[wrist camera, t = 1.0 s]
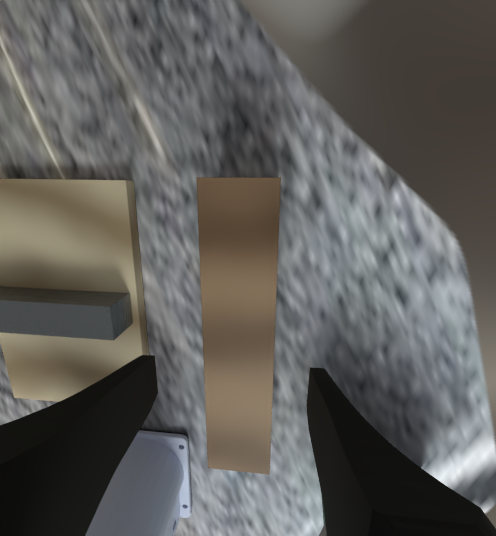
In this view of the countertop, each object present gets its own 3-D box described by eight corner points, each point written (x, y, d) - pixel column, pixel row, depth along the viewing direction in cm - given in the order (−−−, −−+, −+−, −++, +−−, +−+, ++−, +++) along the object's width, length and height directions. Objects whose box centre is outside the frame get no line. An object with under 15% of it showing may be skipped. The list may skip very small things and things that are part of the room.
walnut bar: (271, 408, 23) (269, 474, 17) (223, 405, 23) (208, 468, 18) (279, 182, 18) (280, 177, 13) (219, 182, 18) (196, 177, 13)
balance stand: (153, 401, 23) (132, 436, 20) (24, 389, 24) (-16, 420, 21) (133, 181, 18) (101, 177, 15) (-25, 179, 20) (-88, 175, 16)
